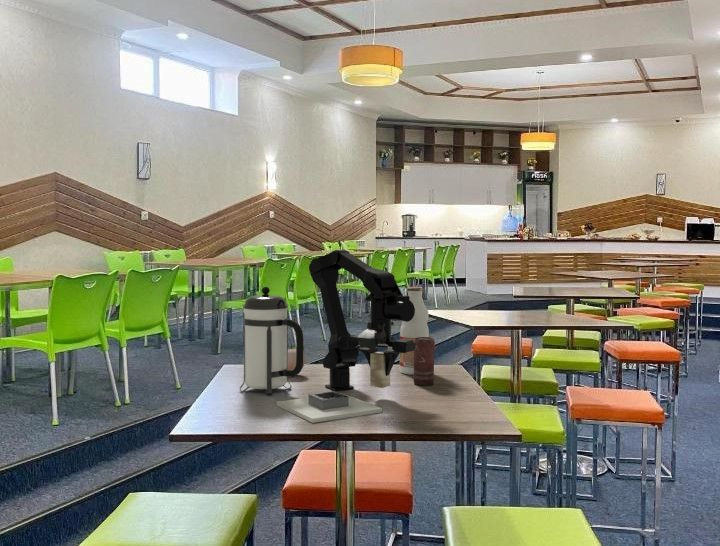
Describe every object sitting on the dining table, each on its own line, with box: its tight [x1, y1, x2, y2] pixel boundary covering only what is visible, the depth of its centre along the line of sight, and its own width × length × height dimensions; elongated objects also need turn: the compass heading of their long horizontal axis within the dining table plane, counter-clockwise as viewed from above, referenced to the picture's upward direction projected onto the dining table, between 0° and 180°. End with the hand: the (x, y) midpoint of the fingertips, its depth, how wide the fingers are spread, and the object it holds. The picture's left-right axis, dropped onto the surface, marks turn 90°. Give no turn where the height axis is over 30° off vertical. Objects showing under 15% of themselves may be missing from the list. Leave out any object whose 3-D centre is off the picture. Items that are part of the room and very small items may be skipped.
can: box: [412, 336, 436, 387], centre depth 214 cm, size 6×6×14 cm
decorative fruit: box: [288, 344, 307, 371], centre depth 225 cm, size 9×8×10 cm
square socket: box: [307, 390, 349, 410], centre depth 183 cm, size 8×8×2 cm
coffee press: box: [239, 286, 304, 397], centre depth 203 cm, size 17×16×30 cm
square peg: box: [369, 351, 391, 389], centre depth 195 cm, size 4×4×9 cm
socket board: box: [276, 392, 383, 424], centre depth 183 cm, size 20×20×1 cm
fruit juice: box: [399, 286, 430, 376], centre depth 231 cm, size 9×9×28 cm
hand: (380, 374), depth 195 cm, fingers closed on square peg, 4 cm apart
